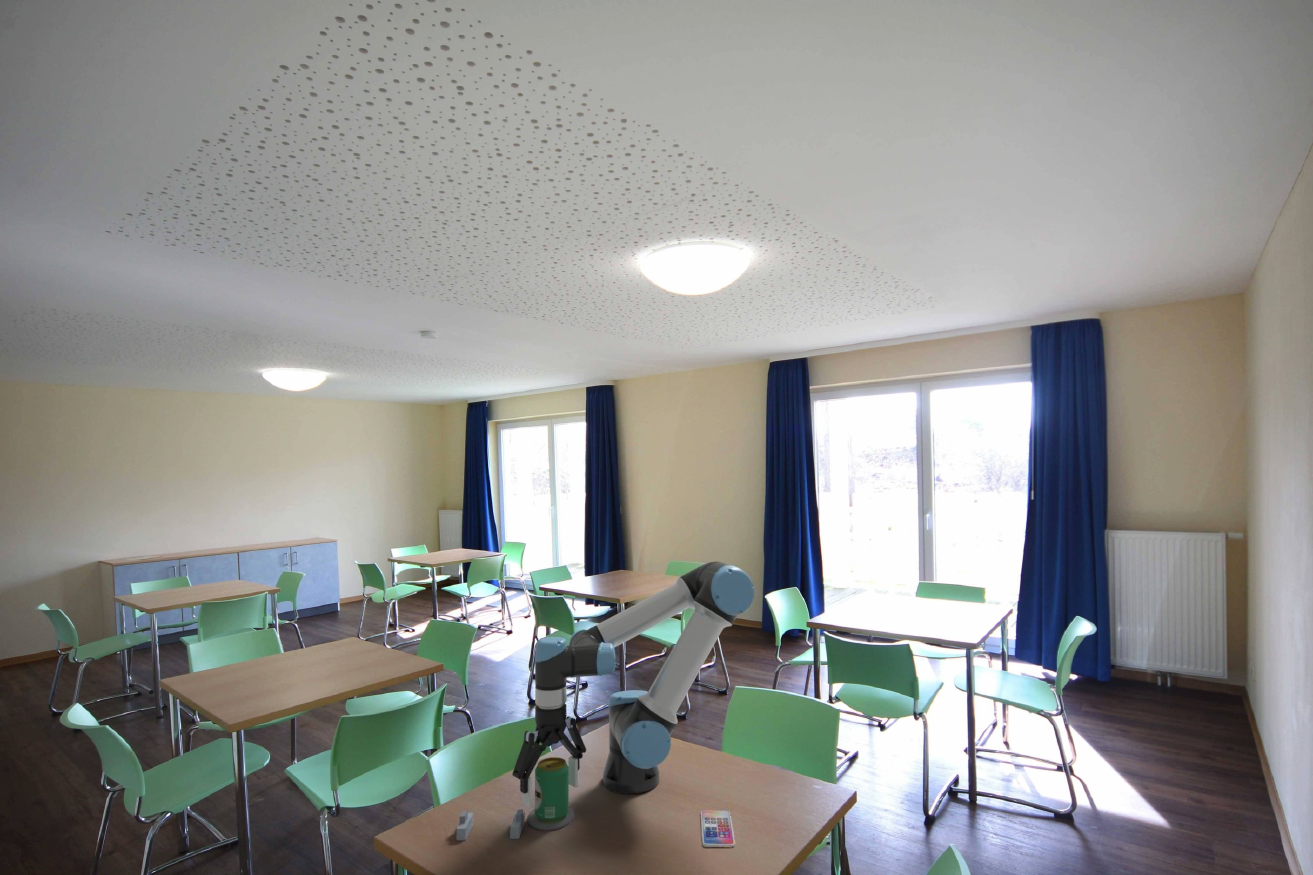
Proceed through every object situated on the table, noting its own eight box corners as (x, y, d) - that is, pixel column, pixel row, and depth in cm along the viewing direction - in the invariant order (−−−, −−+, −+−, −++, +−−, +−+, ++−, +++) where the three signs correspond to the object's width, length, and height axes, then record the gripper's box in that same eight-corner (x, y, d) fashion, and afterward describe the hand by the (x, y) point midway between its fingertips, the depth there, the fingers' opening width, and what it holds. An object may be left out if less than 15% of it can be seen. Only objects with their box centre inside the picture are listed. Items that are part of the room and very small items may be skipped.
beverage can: (531, 810, 153) (531, 759, 154) (563, 803, 156) (563, 753, 157) (538, 826, 146) (539, 772, 147) (572, 819, 149) (572, 766, 150)
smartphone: (730, 810, 153) (736, 845, 138) (730, 814, 152) (736, 849, 138) (699, 809, 153) (702, 844, 138) (699, 813, 153) (702, 848, 138)
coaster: (576, 805, 157) (576, 803, 157) (571, 829, 146) (571, 826, 146) (531, 806, 156) (531, 804, 156) (523, 831, 145) (523, 828, 145)
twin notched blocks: (524, 821, 149) (524, 804, 150) (519, 838, 142) (519, 819, 143) (465, 823, 149) (465, 806, 149) (456, 840, 142) (456, 821, 142)
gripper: (580, 688, 165) (581, 772, 163) (497, 714, 147) (497, 809, 145) (599, 694, 160) (600, 781, 158) (516, 722, 141) (515, 820, 140)
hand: (550, 795), depth 151 cm, fingers open, 13 cm apart
